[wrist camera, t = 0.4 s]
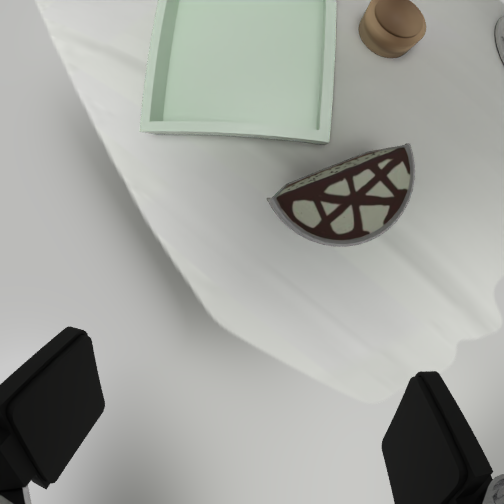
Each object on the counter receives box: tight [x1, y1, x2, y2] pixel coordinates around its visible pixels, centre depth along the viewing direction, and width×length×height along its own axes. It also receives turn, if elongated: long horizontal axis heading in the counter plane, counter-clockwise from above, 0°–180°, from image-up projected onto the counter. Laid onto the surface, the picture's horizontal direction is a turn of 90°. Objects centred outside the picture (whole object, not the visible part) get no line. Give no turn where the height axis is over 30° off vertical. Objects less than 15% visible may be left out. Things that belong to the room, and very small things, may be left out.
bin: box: [140, 0, 336, 145], centre depth 27 cm, size 18×18×4 cm
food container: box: [267, 143, 415, 246], centre depth 27 cm, size 12×6×10 cm, turn 114°
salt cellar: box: [359, 0, 426, 58], centre depth 23 cm, size 6×6×6 cm
